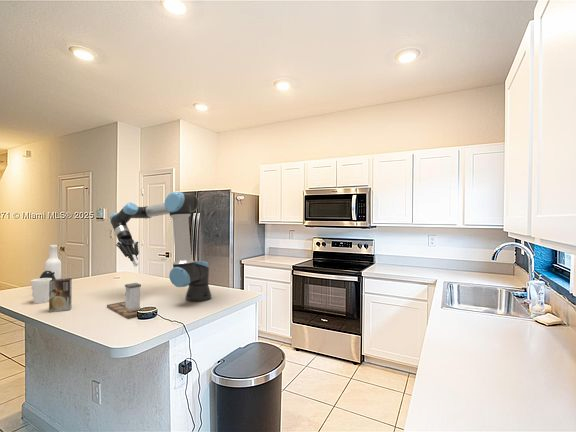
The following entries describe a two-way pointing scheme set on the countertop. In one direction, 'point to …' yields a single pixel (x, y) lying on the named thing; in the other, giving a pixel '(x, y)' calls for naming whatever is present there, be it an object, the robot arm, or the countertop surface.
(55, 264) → the alcohol
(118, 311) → the rail board
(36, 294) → the foam cup
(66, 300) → the coffee box
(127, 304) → the silver square canister
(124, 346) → the countertop surface
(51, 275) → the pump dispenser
